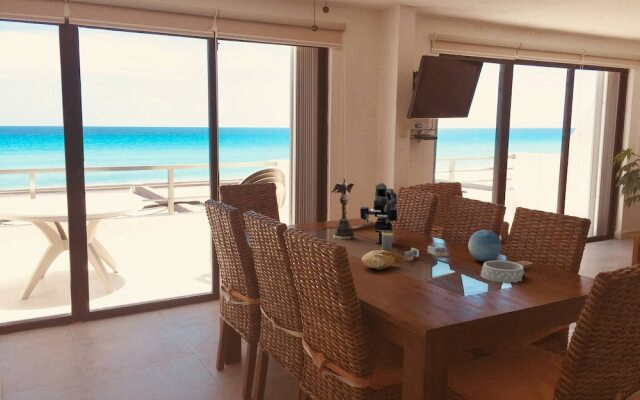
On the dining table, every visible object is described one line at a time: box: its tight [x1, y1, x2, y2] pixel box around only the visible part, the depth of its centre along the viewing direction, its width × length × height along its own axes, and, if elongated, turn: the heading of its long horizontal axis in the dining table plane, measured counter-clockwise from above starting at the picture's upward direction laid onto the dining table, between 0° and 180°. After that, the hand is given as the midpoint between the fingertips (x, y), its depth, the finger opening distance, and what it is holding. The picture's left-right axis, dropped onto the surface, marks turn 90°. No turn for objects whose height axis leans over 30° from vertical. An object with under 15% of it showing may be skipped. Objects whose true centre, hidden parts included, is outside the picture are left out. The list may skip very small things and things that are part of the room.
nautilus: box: [361, 249, 407, 271], centre depth 248 cm, size 8×21×15 cm
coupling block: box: [381, 231, 394, 255], centre depth 265 cm, size 5×5×13 cm
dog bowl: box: [480, 260, 526, 284], centre depth 234 cm, size 17×18×5 cm
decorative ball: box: [467, 229, 502, 263], centre depth 259 cm, size 15×15×15 cm
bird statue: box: [330, 177, 355, 240], centre depth 314 cm, size 17×13×35 cm
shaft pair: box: [402, 245, 447, 262], centre depth 267 cm, size 6×23×5 cm, turn 116°
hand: (376, 222), depth 272 cm, fingers open, 9 cm apart
